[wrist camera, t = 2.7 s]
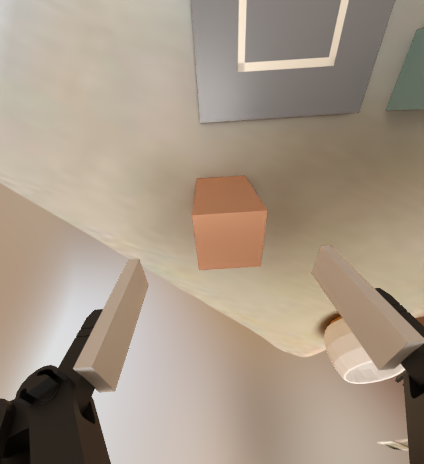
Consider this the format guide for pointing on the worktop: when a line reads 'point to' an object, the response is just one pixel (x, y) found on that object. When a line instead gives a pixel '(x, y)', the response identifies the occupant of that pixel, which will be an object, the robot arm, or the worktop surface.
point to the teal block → (410, 78)
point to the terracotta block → (228, 223)
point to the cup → (352, 356)
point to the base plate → (285, 56)
